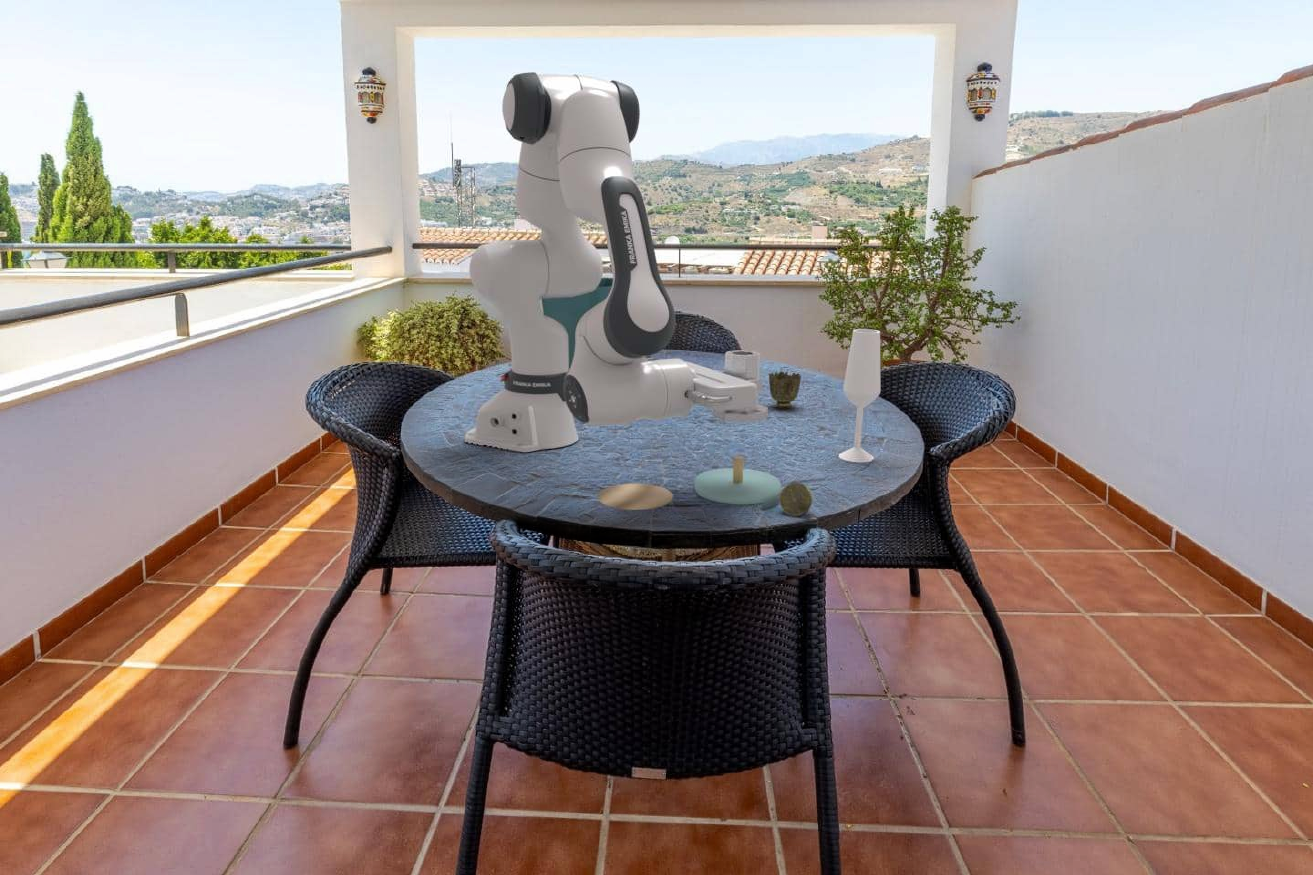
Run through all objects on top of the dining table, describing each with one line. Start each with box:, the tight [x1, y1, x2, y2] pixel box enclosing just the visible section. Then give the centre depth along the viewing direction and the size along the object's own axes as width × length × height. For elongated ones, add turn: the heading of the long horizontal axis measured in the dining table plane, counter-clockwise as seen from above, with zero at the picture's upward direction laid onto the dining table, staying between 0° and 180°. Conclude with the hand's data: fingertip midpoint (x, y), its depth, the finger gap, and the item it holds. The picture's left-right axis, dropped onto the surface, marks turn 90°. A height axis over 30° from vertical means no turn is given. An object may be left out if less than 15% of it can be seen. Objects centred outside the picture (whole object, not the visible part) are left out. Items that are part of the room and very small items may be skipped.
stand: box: [597, 483, 674, 511], centre depth 132 cm, size 12×12×1 cm
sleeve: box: [712, 349, 769, 423], centre depth 130 cm, size 8×8×10 cm
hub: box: [694, 456, 782, 511], centre depth 135 cm, size 14×14×6 cm
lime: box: [779, 481, 813, 517], centre depth 128 cm, size 4×5×5 cm
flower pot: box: [541, 277, 652, 369], centre depth 194 cm, size 20×20×28 cm
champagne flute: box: [838, 328, 881, 463], centre depth 154 cm, size 7×7×24 cm
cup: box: [768, 370, 802, 410], centre depth 193 cm, size 8×7×8 cm
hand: (746, 380), depth 131 cm, fingers closed on sleeve, 5 cm apart
